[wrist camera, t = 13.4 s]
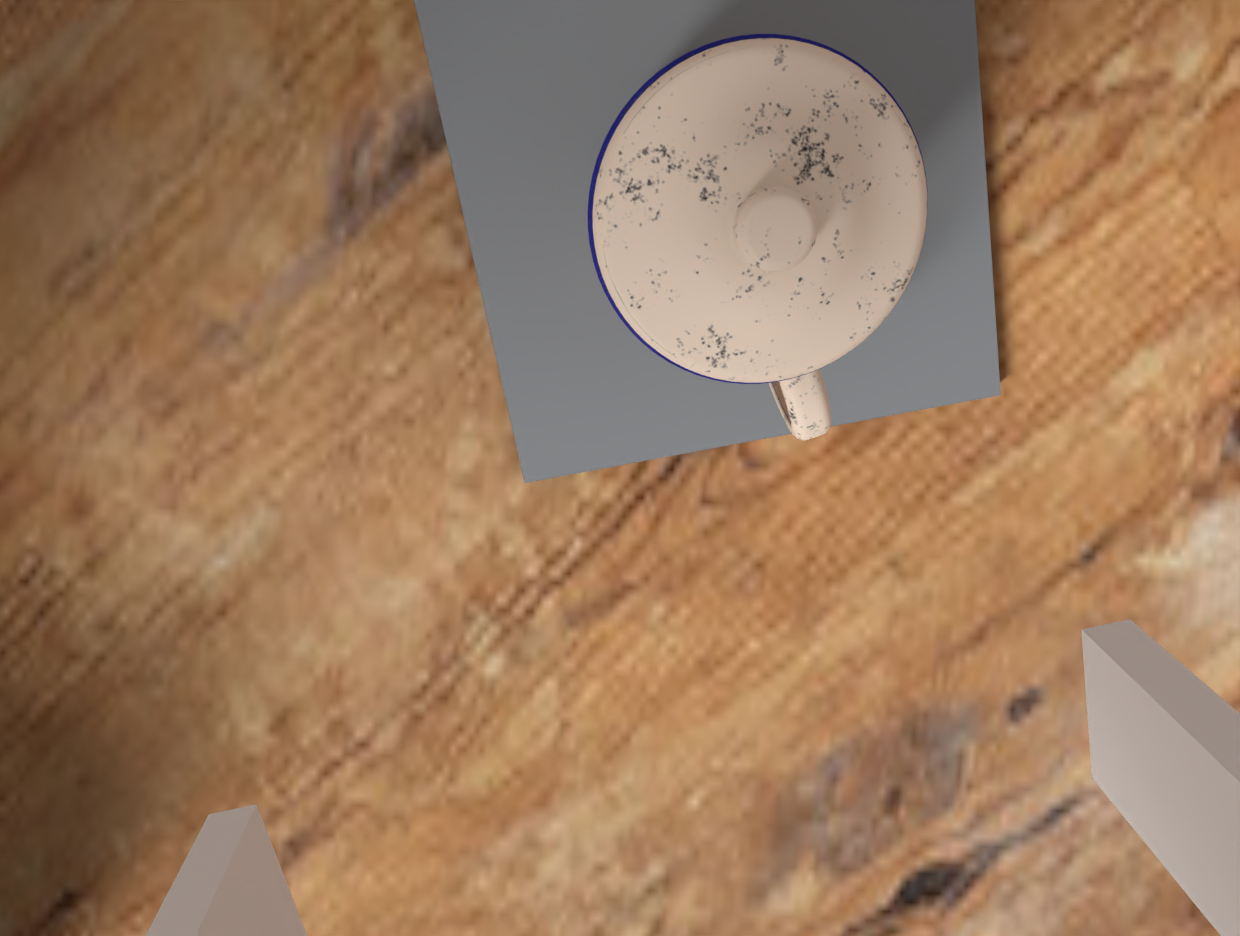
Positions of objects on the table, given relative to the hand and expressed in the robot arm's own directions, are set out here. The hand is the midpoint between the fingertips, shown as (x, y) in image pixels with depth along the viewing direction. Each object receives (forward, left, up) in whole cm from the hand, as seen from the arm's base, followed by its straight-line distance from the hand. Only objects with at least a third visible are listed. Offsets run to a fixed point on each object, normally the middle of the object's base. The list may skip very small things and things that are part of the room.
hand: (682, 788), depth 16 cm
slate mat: (+5, +7, -24) cm, 25 cm away
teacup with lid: (+5, +5, -23) cm, 24 cm away
